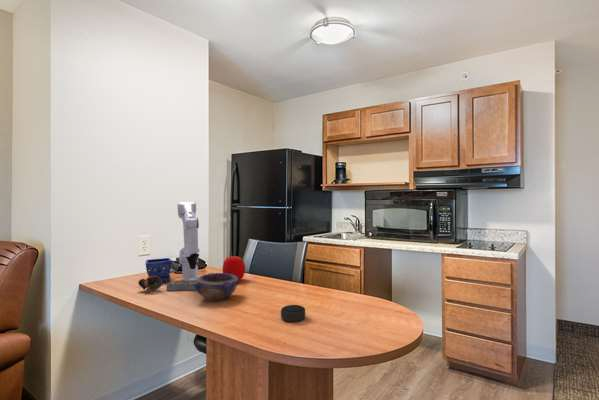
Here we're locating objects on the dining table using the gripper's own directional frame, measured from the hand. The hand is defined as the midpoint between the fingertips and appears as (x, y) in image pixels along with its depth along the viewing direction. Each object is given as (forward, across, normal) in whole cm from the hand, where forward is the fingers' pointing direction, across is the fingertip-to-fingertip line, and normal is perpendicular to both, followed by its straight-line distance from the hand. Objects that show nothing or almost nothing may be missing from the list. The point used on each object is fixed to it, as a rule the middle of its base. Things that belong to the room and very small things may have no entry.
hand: (192, 268), depth 172 cm
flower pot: (+10, -17, -26) cm, 33 cm away
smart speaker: (+10, +45, +54) cm, 71 cm away
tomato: (+10, -15, +17) cm, 25 cm away
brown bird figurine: (+10, +4, -20) cm, 23 cm away
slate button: (+10, 0, 0) cm, 10 cm away
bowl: (+10, +18, +18) cm, 27 cm away
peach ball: (+10, 0, -7) cm, 12 cm away
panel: (+10, 0, 0) cm, 10 cm away
